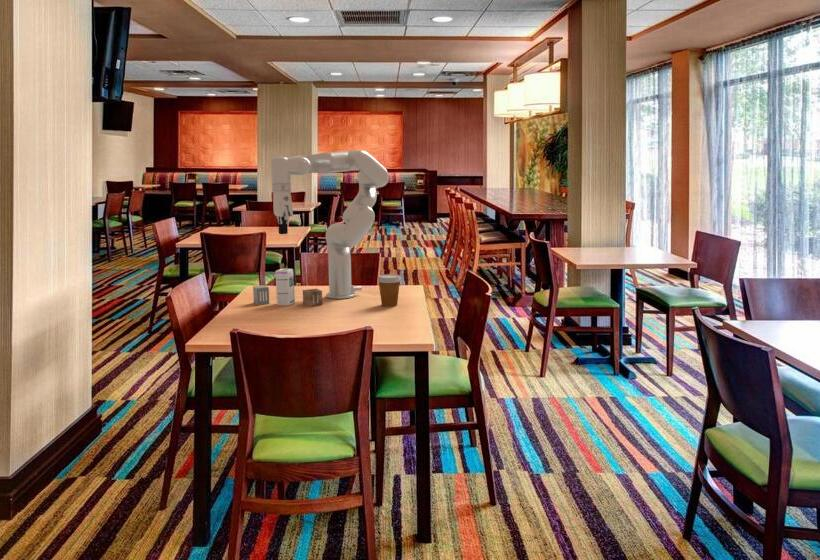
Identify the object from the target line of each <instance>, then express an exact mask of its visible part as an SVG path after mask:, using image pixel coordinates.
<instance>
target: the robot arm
mask: <svg viewBox="0 0 820 560" xmlns="http://www.w3.org/2000/svg"><path fill="white" fill-rule="evenodd" d="M350 171H351V172H352V171H353V172H354V171H358V175H357V180H358V181H357V182H358V185H359V188H358V192H357V195H356V196H355V197H354V199H353V200H352V201H351V202H350V204H348V206H347V208H346V209H345V210H344V211H343V213H342V221H343V222H344V223H341V222H340V223H337V222H336V223H333V224H330V225H329V226H328V227H327V229H326V231H325V242H326V247H327V253H328V254H327V256H328V259H327V260H328V261H327V263H328V289H329V292H326V294H325V298H327V299H335V300H337V299H338V300H342V299H343V300H344V299H350V298H354V297H355V296H356V293H355V292H359V291H362V289H363V287H362V286H361V285H359V286H357V285H356V286H355V285H353V284H352V256H351V255H352V254H351V249H350V248H353V247H356V246H357V245H358V244H359V243H361V241H362V240H363V238H364V237H365V236H366V234H367V233H368V232H369V230H370V229H372V226H373V225H374V223H375V217H376V215H375V211H374V210H373V207H374V206H375V204H376V202H377V197H378V194H377V188H383V187H385V186H386V185H387V184H388V182H389V180H390V174H389V172H388V170H387V169H386V168H385V167H384V166H383V165H382V164H381V163H380V162H379V161H378V160H377V159H376V158H375V157H373V156H372V154H370V153H369V152H367V151H366V150H363V149H358V150H357V149H355V150H341V151H330V152H329V151H328V152H320V153H319V152H318V153H314V154H307V155H306V154H304V155H303V154H302V155H293V156H292V155H291V156H287V157H286V156H275V157H272V158H271V159H270V174H271V193H273V197H272V198H273V201H272V202H273V214H274V216H275V217H276V219H277V225H278V234H279V235H287V234H288V233H289V232H288V231H289V230H288V223H289V222H288V221H289V218H290V217H293V216H294V210H293V200H292V195H291V193H292V185H291V183H292V182H291V180H292V179H291V176H304V175H307V174H332V173H333V174H334V173H342V172H343V173H344V172H350Z"/></svg>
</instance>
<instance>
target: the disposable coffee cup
mask: <svg viewBox="0 0 820 560" xmlns="http://www.w3.org/2000/svg"><path fill="white" fill-rule="evenodd" d="M376 280H377V282H378V287H379V293H380V294H379V295H380V300H381V306H382V307H385V306H393V307H396V305H397V306H398V301H399V293H400V282H401V280H402V279H401V277H400V275H399V274H391V273H389V274H388V273H387V274H380V275H378V277H377V279H376Z"/></svg>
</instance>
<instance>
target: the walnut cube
mask: <svg viewBox="0 0 820 560" xmlns="http://www.w3.org/2000/svg"><path fill="white" fill-rule="evenodd" d="M302 305H304V306H306V307H308V308H309V307H310V308H311V307H319V306H323V290H320V289H318V288H312V289H311V288H310V289H302Z"/></svg>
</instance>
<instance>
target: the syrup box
mask: <svg viewBox="0 0 820 560" xmlns="http://www.w3.org/2000/svg"><path fill="white" fill-rule="evenodd" d="M274 273H275V289H276V305H277V306H286V307H288V306H289V307H290V306H291V305H293V304H295V303H296V300H295V299H296V298H295V297H296V296H295V295H296V294H295V281H294V279H295V278H294V277H295V276H294V269H293V268H280V269H277V270H275V272H274Z"/></svg>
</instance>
